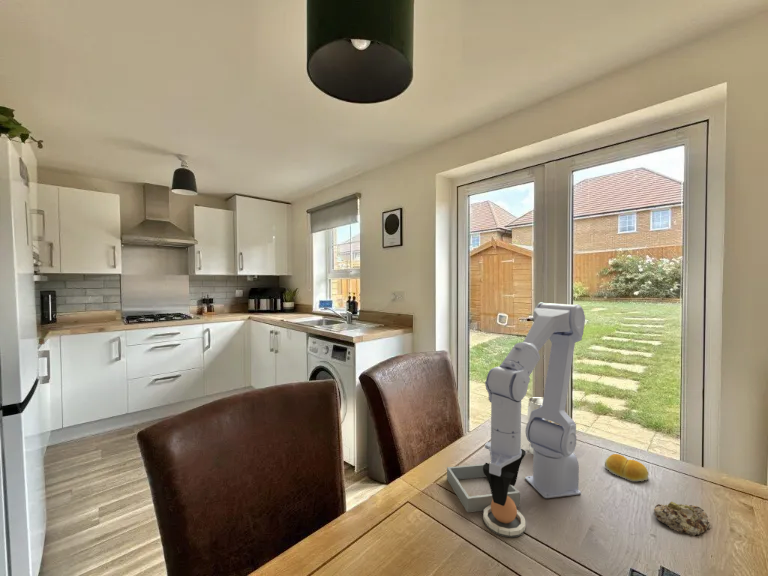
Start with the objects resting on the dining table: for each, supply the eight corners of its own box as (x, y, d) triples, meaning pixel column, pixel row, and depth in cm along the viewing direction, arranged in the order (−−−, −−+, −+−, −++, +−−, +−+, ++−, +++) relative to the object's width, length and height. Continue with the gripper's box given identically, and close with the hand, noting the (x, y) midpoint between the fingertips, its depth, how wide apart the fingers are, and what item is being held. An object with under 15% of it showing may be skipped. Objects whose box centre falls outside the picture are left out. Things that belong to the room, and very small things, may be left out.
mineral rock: (682, 529, 66) (646, 493, 73) (675, 546, 67) (640, 509, 74) (730, 526, 67) (690, 491, 75) (721, 542, 68) (683, 506, 76)
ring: (511, 507, 75) (511, 502, 75) (533, 534, 67) (533, 528, 67) (476, 511, 73) (477, 506, 73) (495, 539, 65) (495, 533, 65)
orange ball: (508, 511, 73) (508, 487, 73) (521, 527, 68) (522, 503, 68) (486, 513, 72) (486, 490, 72) (498, 530, 67) (498, 505, 67)
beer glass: (558, 459, 95) (559, 405, 94) (532, 458, 95) (534, 405, 94) (546, 446, 102) (547, 396, 101) (523, 446, 102) (524, 396, 101)
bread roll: (643, 487, 82) (644, 471, 82) (601, 471, 89) (602, 456, 89) (652, 475, 88) (652, 459, 88) (611, 460, 95) (612, 446, 95)
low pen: (492, 474, 87) (492, 462, 87) (519, 506, 75) (520, 492, 75) (446, 479, 85) (447, 467, 85) (467, 512, 73) (467, 498, 73)
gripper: (496, 411, 78) (495, 470, 78) (473, 435, 66) (473, 504, 66) (529, 418, 74) (528, 480, 74) (511, 446, 62) (510, 519, 62)
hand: (504, 493), depth 70 cm, fingers open, 7 cm apart
